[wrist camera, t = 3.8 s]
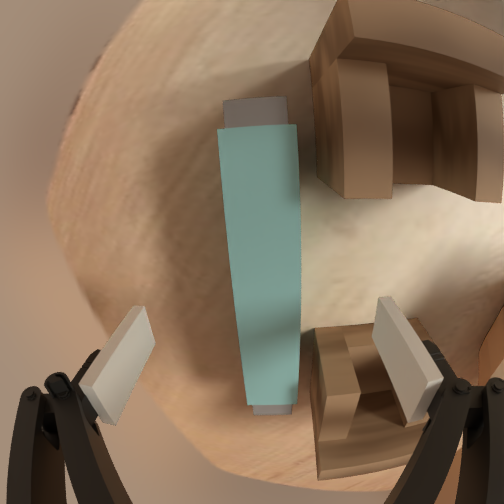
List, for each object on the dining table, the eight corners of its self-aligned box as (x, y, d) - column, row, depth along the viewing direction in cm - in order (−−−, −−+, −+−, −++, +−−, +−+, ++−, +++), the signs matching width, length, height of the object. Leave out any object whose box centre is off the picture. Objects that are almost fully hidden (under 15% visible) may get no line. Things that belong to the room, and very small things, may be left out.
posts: (309, 58, 16) (344, -14, 6) (433, 73, 16) (526, 50, 5) (309, 391, 28) (317, 480, 17) (397, 381, 27) (426, 458, 17)
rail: (230, 113, 19) (214, 101, 13) (287, 109, 18) (294, 95, 13) (253, 368, 27) (248, 414, 21) (293, 367, 27) (296, 414, 21)
